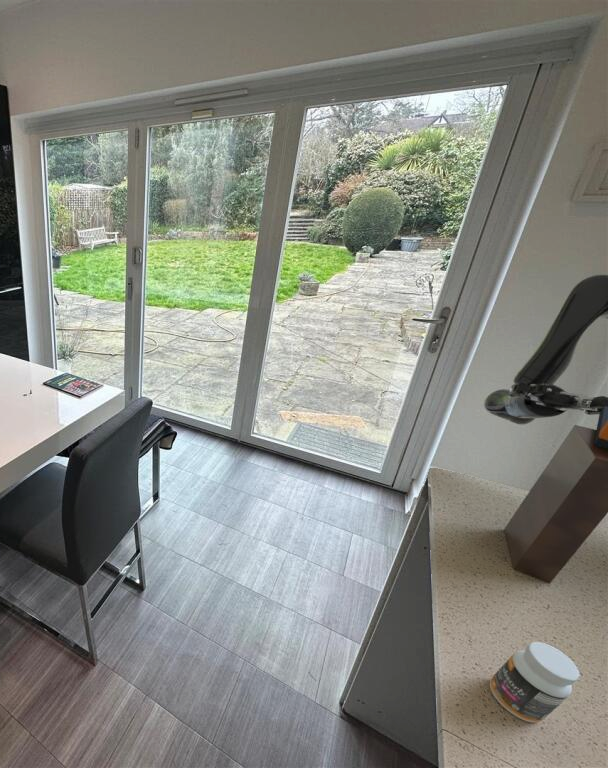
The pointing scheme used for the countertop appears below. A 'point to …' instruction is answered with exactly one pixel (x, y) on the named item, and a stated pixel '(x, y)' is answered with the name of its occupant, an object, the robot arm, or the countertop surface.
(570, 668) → the pill bottle
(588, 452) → the walnut stand
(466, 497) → the countertop surface
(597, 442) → the back pad
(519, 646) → the countertop surface
